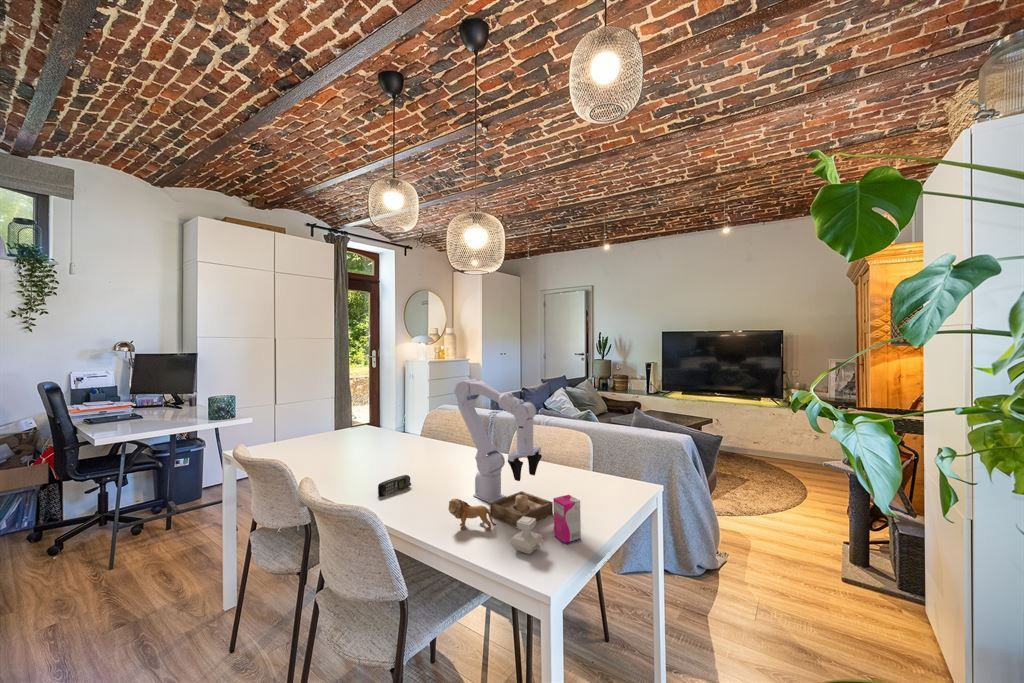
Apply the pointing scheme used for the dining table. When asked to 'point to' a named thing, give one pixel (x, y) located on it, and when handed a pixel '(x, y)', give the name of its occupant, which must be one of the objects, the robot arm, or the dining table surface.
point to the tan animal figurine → (469, 512)
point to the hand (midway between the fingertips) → (524, 477)
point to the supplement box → (567, 519)
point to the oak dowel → (521, 502)
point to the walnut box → (510, 515)
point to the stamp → (526, 536)
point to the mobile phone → (393, 485)
